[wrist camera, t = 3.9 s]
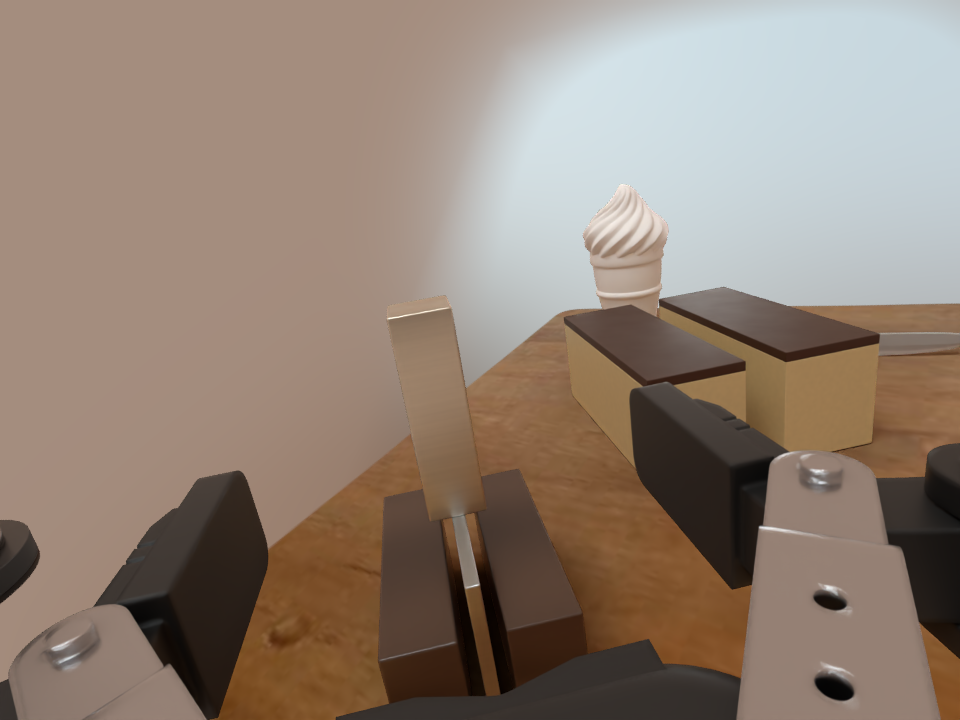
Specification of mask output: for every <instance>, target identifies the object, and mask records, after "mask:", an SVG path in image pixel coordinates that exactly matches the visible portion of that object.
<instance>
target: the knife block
mask: <svg viewBox="0 0 960 720" xmlns="http://www.w3.org/2000/svg"><path fill="white" fill-rule="evenodd" d="M481 479H482V484H483V490H484V496H485V502H486V507H487V509H486V510H484V511H479V512H475V513H474V514H475V519H476V525H477V530H478V536H479V541H480V547H481V552H482V558H483V563H484V567H485V571H486V576H487V580H488V584H489V588H490V593H491V597H492V601H493V605H494V610H495V614H496V618H497V622H498V627H499V631H500V635H501V639H502V644H503V648H504V652H505V656H506V660H507V665H508V669H509V673H510V677H511V682H512V686H513V689H515V688H517V687H519V686H521V685H523V684H525V683H526V682H528V681H530V680H532V679H534V678H536V677H538V676H540V675H542V674H544V673H546V672H548V671H550V670H552V669H554V668H556V667H557V666H559V665H561V664H563V663H565V662H567V661H569V660H571V659H573V658H575V657H579V656H583V655H587V654H588V652H587V644H586V636H585V627H584V619H583V612H582V610H581V608H580V605H579V603H578V601H577V599H576V596H575V594H574V592H573V589H572V587H571V585H570V583H569V580H568V578H567V576H566V574H565V571H564V569H563V567H562V565H561V562H560V560H559V558H558V556H557V553H556V551H555V549H554V546H553V544H552V542H551V540H550V537H549V535H548V533H547V531H546V528H545V526H544V524H543V522H542V519H541V517H540V515H539V513H538V510H537V508H536V506H535V503H534V501H533V499H532V497H531V494H530V492H529V490H528V488H527V485H526V483H525V481H524V479H523V476H522V474H521V472H520V470H519V469H515V470H510V471H505V472H501V473H496V474H491V475H486V476H482V477H481ZM378 663H379V667H380V671H381V674H382V678H383V682H384V685H385V689H386V693H387V696H388V700H389V704H391V703H395V702H399V701H403V700H407V699H411V698H415V697H461V696H472V690H471V684H470V677H469V671H468V664H467V657H466V651H465V644H464V638H463V631H462V625H461V618H460V611H459V605H458V598H457V592H456V585H455V579H454V572H453V566H452V561H451V556H450V552H449V547H448V542H447V537H446V532H445V527H444V522H443V520H438V521H434V522H430V520H429V516H428V511H427V506H426V501H425V497H424V492H423V489H421V490H417V491H412V492H407V493H402V494H398V495H393V496H388V497H385V498H384V510H383V537H382V565H381V593H380V621H379V649H378Z"/></svg>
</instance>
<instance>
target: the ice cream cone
mask: <svg viewBox="0 0 960 720" xmlns="http://www.w3.org/2000/svg"><path fill="white" fill-rule="evenodd" d="M667 235H668V225H667V223H666V222H665V220H664V219H663V218H662V217H660V216H659V215H657V214H656V213H655V212H654V211H652V210H651V209H650V208H648V206H647V204H646V203H645V201H644V200H643V199H642V198H641V197H640V196H639V194H638V193H637V192H636V191H635V190H634V189H633V188H632V187H631V186H629V185H624V184H620V186H619V187H618V189H617V191H616V192H615V194H614V196H613V197H612V199H611V200H610V201H609V202H608V203H607V204H606V205H605V206H604V207H603V208H602V209H601V210H599V211H598V212H597V215H595V216H594V217H593V218H592V220H591V222H590V224H589V226H588V227H587V228H586V229H585V231H584V233H583V238H584V240H585V247H586V248H587V250H588V251H590V263H591V265H592V266H593V270H594V277H595V281H596V286H597V290H596V294H597V296H598V297H599V299H600V303H601V306H602V309H603V310H604V309H609V308H614V307H620V306H625V305H630V304H631V305H633V306H635V307H637V308H639V309H641V310H643V311H645V312H647V313H649V314H651V315H654V316H656V313H657V307H658V300H659V294H660V290H661V289H662V284H661V283H660V281H661V258H662V257H663V255H664V254H663V247H664V245H665V244H666V240H667Z"/></svg>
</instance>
